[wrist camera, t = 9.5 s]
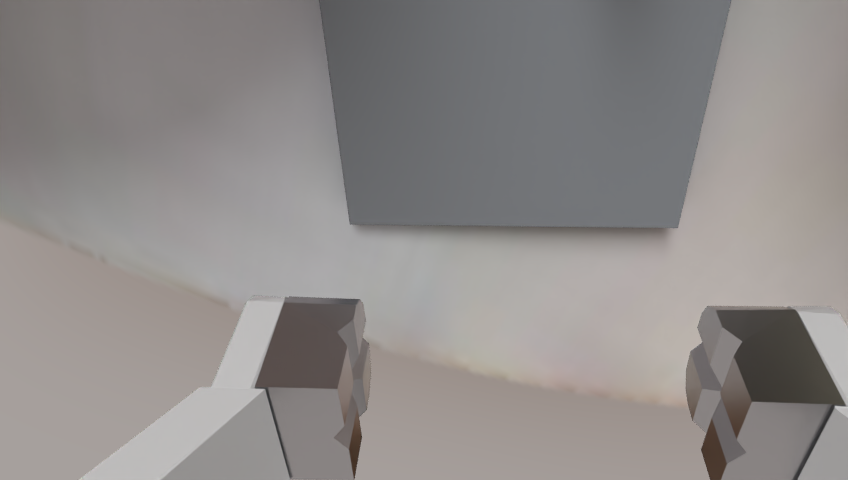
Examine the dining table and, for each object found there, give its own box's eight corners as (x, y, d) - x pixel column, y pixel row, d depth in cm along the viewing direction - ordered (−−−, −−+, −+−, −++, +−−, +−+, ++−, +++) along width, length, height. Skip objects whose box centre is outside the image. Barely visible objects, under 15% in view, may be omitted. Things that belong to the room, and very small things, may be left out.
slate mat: (754, -161, 13) (767, -154, 13) (671, 211, 19) (677, 228, 18) (309, -144, 14) (300, -137, 13) (354, 208, 20) (350, 224, 19)
